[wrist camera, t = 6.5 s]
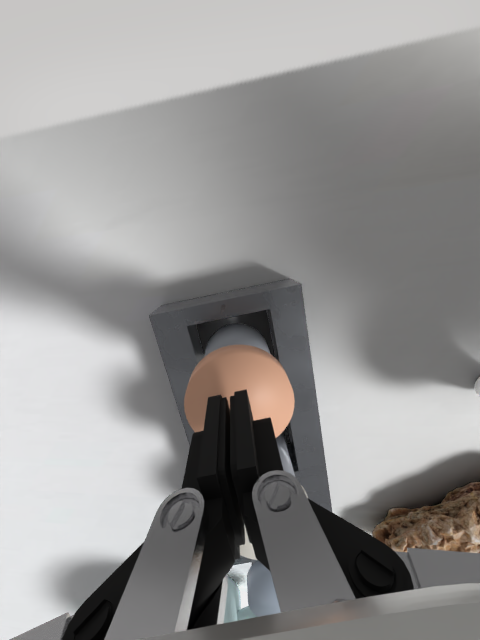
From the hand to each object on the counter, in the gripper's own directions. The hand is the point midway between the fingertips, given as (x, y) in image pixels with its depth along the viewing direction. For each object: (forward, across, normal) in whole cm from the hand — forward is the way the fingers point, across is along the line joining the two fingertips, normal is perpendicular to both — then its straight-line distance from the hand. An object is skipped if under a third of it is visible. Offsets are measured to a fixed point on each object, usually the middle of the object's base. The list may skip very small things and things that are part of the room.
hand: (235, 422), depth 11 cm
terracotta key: (+7, 0, 0) cm, 7 cm away
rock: (+10, -18, +23) cm, 31 cm away
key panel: (+10, 0, +8) cm, 13 cm away
